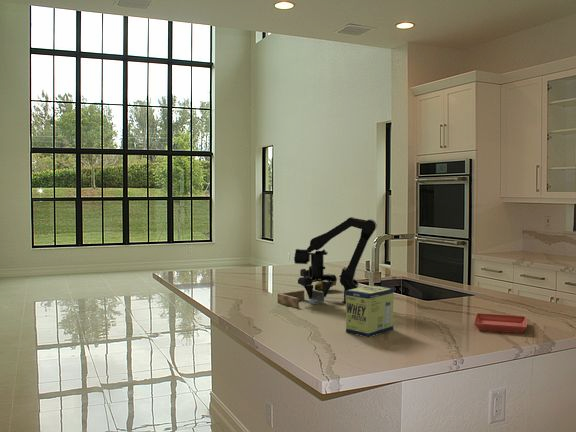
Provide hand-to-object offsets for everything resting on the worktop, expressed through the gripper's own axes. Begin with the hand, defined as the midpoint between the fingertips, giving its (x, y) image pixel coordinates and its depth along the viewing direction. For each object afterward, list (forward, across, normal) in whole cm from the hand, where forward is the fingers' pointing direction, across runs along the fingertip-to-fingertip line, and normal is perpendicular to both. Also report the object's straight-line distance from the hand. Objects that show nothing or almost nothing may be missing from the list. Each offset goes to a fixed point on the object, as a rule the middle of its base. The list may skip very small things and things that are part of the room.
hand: (317, 298), depth 265 cm
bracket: (+2, +2, 0) cm, 3 cm away
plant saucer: (+2, -23, +79) cm, 82 cm away
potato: (+2, -20, -18) cm, 27 cm away
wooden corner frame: (+2, +8, -2) cm, 9 cm away
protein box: (+2, +19, +53) cm, 56 cm away
